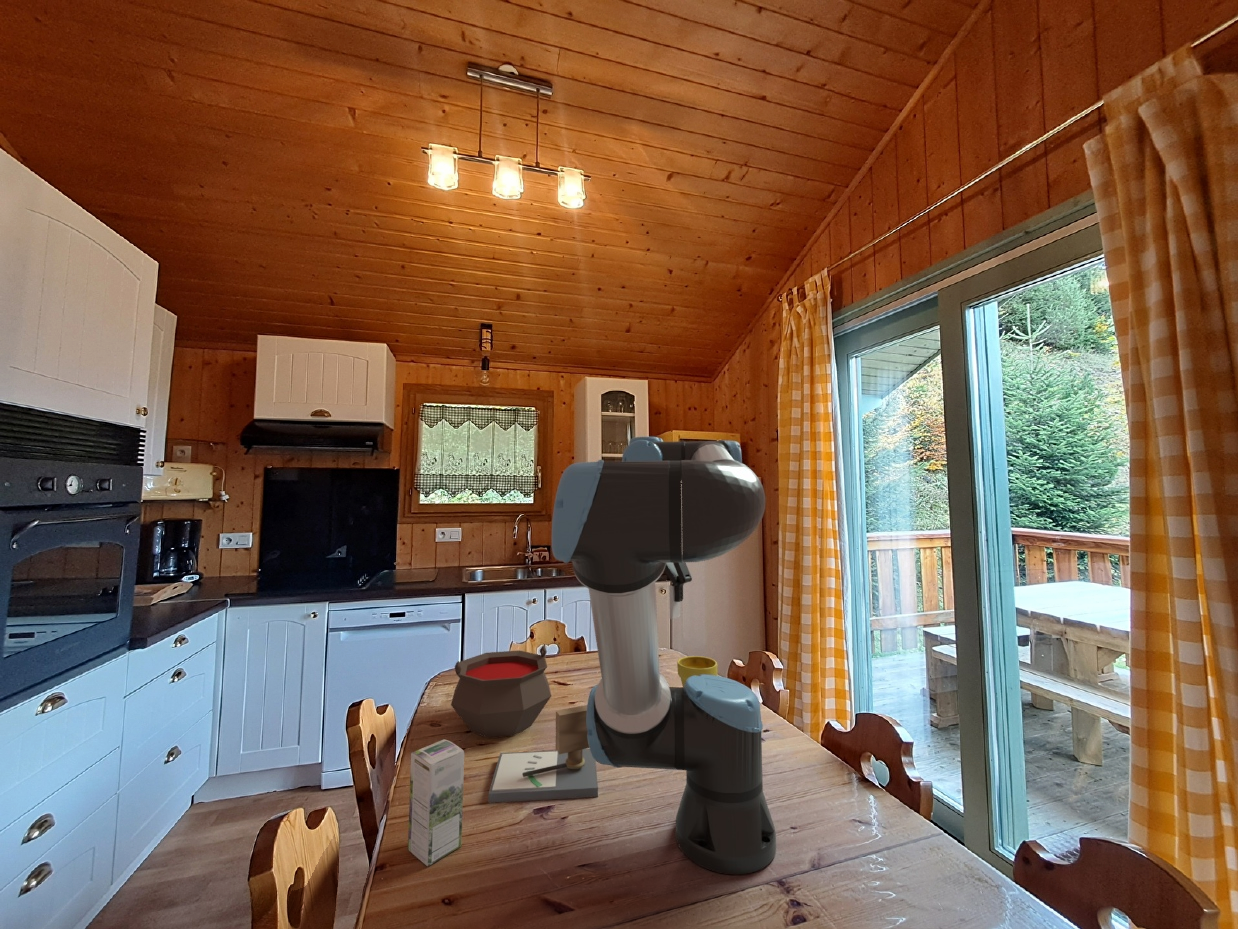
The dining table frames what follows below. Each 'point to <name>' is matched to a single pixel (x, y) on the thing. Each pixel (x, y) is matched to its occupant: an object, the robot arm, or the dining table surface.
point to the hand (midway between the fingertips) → (647, 613)
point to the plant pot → (695, 667)
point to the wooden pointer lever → (569, 738)
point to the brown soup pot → (501, 691)
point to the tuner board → (542, 777)
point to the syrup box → (436, 801)
